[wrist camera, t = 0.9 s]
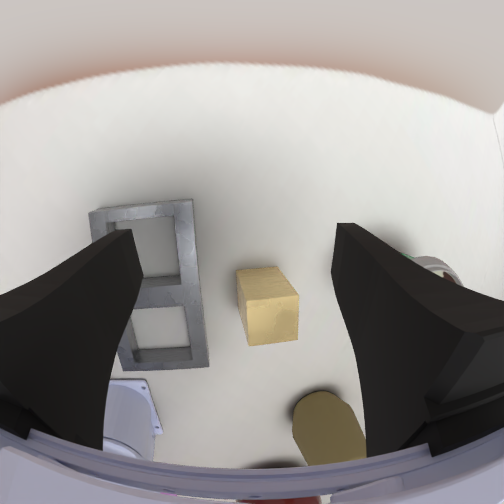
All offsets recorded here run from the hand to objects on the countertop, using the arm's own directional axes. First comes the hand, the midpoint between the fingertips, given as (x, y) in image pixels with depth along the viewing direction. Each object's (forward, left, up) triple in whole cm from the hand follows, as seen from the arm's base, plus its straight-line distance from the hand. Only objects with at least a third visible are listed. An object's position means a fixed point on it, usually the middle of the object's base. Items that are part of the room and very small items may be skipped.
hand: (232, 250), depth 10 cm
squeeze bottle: (-27, -11, -17) cm, 33 cm away
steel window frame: (-8, +6, -17) cm, 20 cm away
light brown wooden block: (-9, -4, -17) cm, 20 cm away
